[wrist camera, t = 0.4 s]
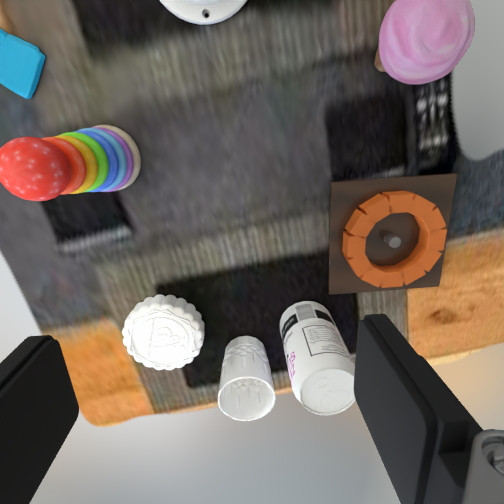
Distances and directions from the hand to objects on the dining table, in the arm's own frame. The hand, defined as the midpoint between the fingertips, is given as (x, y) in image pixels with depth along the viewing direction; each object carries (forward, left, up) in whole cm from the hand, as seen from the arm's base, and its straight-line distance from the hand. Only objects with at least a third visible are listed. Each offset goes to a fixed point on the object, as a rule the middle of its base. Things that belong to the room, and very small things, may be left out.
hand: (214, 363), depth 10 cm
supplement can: (+23, +10, -36) cm, 43 cm away
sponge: (-17, -26, -36) cm, 48 cm away
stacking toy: (-4, -15, -36) cm, 39 cm away
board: (+9, +22, -36) cm, 43 cm away
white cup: (+28, 0, -36) cm, 45 cm away
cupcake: (-14, +21, -36) cm, 44 cm away
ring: (+9, +22, -34) cm, 41 cm away
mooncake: (+22, -12, -36) cm, 44 cm away
